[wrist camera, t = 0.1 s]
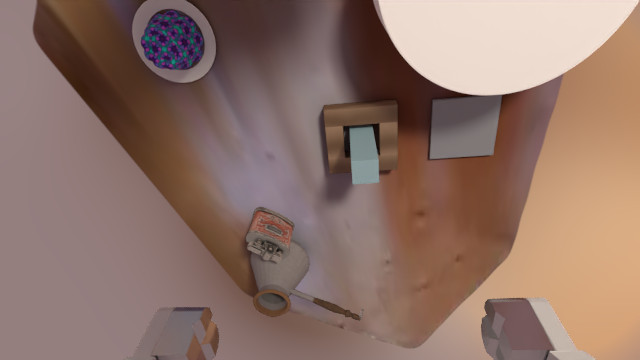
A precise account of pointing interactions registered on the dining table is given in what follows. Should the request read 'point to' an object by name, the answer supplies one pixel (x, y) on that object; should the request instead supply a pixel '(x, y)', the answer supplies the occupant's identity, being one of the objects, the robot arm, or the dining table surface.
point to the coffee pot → (285, 283)
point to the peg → (363, 154)
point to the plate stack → (498, 39)
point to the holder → (359, 115)
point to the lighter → (270, 234)
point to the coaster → (464, 126)
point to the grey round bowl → (173, 40)
